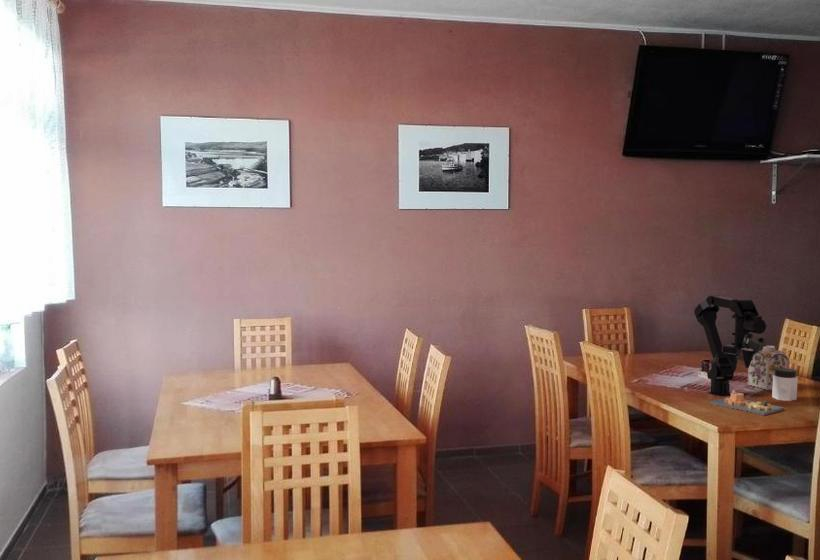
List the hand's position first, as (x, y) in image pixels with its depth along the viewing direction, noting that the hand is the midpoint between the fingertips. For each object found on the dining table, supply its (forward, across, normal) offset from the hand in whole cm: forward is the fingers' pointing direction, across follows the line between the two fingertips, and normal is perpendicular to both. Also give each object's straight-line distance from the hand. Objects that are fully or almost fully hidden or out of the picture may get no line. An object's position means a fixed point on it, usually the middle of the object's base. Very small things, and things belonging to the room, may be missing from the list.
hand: (740, 369), depth 297 cm
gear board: (+13, -7, -7) cm, 16 cm away
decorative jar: (+13, +35, +8) cm, 38 cm away
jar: (+13, +19, -8) cm, 24 cm away
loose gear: (+12, -8, -4) cm, 15 cm away
